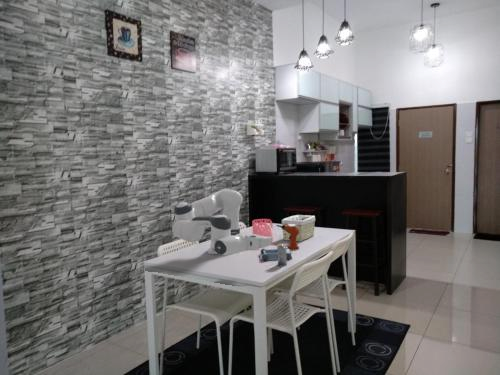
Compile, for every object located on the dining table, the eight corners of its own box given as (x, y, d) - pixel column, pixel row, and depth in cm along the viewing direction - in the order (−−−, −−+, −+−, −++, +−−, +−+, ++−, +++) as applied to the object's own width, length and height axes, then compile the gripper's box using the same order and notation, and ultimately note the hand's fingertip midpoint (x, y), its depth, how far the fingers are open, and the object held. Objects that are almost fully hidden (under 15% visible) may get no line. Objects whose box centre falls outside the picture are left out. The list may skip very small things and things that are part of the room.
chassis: (261, 261, 218) (260, 255, 218) (259, 254, 232) (259, 248, 232) (292, 259, 219) (292, 253, 218) (289, 253, 233) (289, 247, 232)
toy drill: (278, 242, 256) (279, 220, 253) (300, 250, 242) (302, 227, 240) (273, 243, 252) (274, 221, 250) (295, 251, 239) (297, 228, 236)
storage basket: (296, 233, 288) (295, 214, 286) (316, 235, 279) (316, 215, 277) (281, 240, 267) (280, 219, 266) (302, 242, 259) (302, 220, 257)
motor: (278, 266, 207) (277, 246, 206) (277, 263, 212) (276, 244, 211) (287, 265, 207) (286, 245, 206) (286, 263, 212) (285, 243, 211)
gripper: (231, 244, 199) (251, 239, 208) (258, 251, 183) (279, 245, 193) (231, 232, 198) (251, 228, 207) (258, 238, 183) (278, 233, 192)
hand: (264, 236), depth 200 cm, fingers open, 8 cm apart
